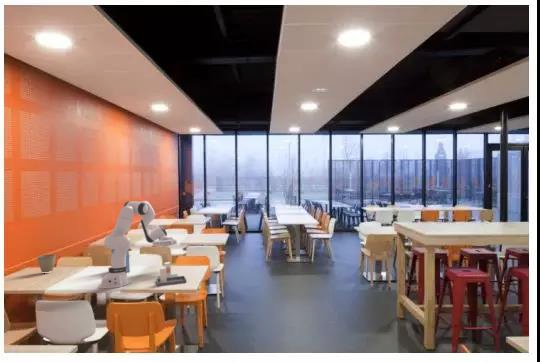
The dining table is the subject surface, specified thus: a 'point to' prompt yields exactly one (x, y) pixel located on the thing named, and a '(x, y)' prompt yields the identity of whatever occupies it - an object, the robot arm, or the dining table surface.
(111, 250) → the gum box
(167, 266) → the labelled box
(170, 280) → the charcoal tray
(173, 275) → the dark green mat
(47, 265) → the plant pot
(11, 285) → the dining table surface
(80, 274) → the dining table surface
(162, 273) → the plain box
